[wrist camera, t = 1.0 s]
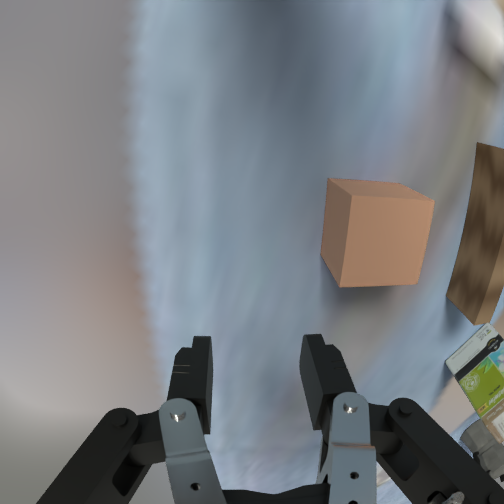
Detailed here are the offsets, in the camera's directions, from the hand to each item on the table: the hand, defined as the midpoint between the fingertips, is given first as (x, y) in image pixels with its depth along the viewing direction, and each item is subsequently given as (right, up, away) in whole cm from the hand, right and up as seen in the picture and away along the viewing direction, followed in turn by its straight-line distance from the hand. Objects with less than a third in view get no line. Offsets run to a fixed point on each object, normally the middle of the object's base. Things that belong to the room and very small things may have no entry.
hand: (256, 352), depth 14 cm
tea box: (+38, -14, +30) cm, 51 cm away
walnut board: (+27, +8, +19) cm, 34 cm away
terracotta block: (+11, +8, +18) cm, 23 cm away
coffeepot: (+53, -38, +41) cm, 77 cm away
